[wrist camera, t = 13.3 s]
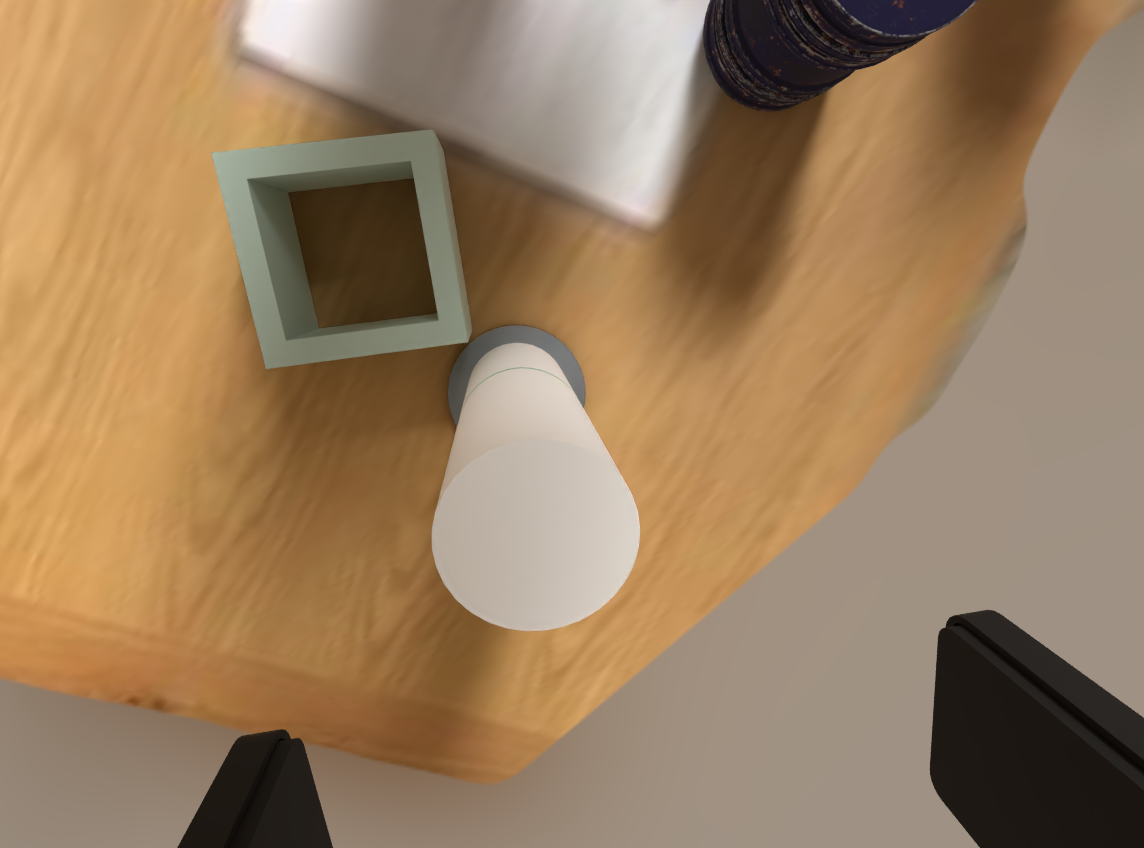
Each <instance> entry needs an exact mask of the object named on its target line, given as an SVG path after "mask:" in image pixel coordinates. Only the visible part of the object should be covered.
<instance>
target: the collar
mask: <svg viewBox="0 0 1144 848" xmlns="http://www.w3.org/2000/svg"><path fill="white" fill-rule="evenodd" d="M212 157H213V161H214V165H215V169H216V173H217V177H218V181H219V185H220V189H221V193H222V197H223V201H224V205H225V209H226V213H227V217H228V221H229V225H230V229H231V233H232V236H233V240H234V244H235V248H236V252H237V256H238V260H239V264H240V268H241V272H242V276H243V280H244V284H245V288H246V292H247V296H248V300H249V304H250V308H251V312H252V315H253V319H254V323H255V327H256V331H257V335H258V339H259V343H260V347H261V351H262V355H263V359H264V363H265V367H266V369H271V368H279V367H286V366H294V365H301V364H308V363H316V362H323V361H331V360H338V359H346V358H353V357H361V356H368V355H376V354H383V353H391V352H398V351H406V350H413V349H421V348H428V347H436V346H443V345H451V344H458V343H465V342H468V341H469V338H470V335H471V333H472V330H473V329H472V323H471V317H470V310H469V304H468V298H467V292H466V286H465V279H464V273H463V267H462V261H461V255H460V249H459V242H458V236H457V230H456V224H455V218H454V211H453V205H452V199H451V193H450V187H449V180H448V174H447V168H446V162H445V156H444V150H443V148H442V146H441V144H440V142H439V140H438V138H437V136H436V134H435V132H434V130H433V129H429V130H420V131H410V132H401V133H392V134H382V135H373V136H364V137H354V138H345V139H336V140H326V141H317V142H308V143H298V144H289V145H280V146H270V147H261V148H252V149H242V150H233V151H224V152H214V153H212ZM412 178H414V182H415V188H416V193H417V199H418V205H419V210H420V216H421V222H422V228H423V233H424V239H425V245H426V250H427V256H428V262H429V268H430V273H431V279H432V285H433V290H434V296H435V302H436V308H437V313H435V314H427V315H419V316H411V317H404V318H396V319H388V320H381V321H373V322H365V323H357V324H350V325H342V326H334V327H327V328H319V327H318V322H317V318H316V313H315V309H314V304H313V300H312V296H311V291H310V287H309V282H308V278H307V274H306V269H305V265H304V260H303V256H302V251H301V247H300V243H299V238H298V234H297V229H296V225H295V221H294V216H293V212H292V207H291V203H290V198H289V194H288V192H297V191H305V190H314V189H323V188H332V187H341V186H350V185H359V184H367V183H376V182H385V181H394V180H403V179H412Z"/></svg>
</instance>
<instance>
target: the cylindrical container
mask: <svg viewBox="0 0 1144 848" xmlns="http://www.w3.org/2000/svg"><path fill="white" fill-rule="evenodd" d="M639 538H640V525H639V516H638V510H637V508H636V505H635V502H634V499H633V496H632V493H631V492H630V490H629V488H628V486H627V484H626V483H625V481H624V479H623V477H622V476H621V474H620V472H619V470H618V469H617V467H616V465H615V463H614V461H613V460H612V458H611V456H610V454H609V453H608V451H607V449H606V447H605V446H604V444H603V442H602V440H601V438H600V437H599V435H598V433H597V431H596V430H595V428H594V426H593V424H592V423H591V421H590V419H589V417H588V415H587V414H586V412H585V410H584V408H583V407H582V405H581V403H580V401H579V400H578V398H577V396H576V394H575V393H574V391H573V389H572V387H571V386H570V384H569V382H568V380H567V379H566V377H565V375H564V373H563V372H562V370H561V368H560V367H559V365H558V363H557V362H556V361H555V360H554V359H553V358H552V357H551V356H550V354H548V353H547V352H545V351H544V350H542V349H541V348H538V347H536V346H534V345H530V344H526V343H509V344H504V345H501V346H499V347H496V348H494V349H492V350H491V351H489V352H488V353H486V354H485V355H484V356H483V357H482V358H481V359H480V360H479V361H478V363H477V364H476V366H475V367H474V369H473V371H472V373H471V376H470V379H469V383H468V387H467V391H466V394H465V398H464V402H463V406H462V410H461V414H460V418H459V422H458V426H457V429H456V433H455V437H454V441H453V445H452V449H451V453H450V457H449V461H448V465H447V469H446V472H445V476H444V480H443V484H442V488H441V492H440V496H439V500H438V504H437V508H436V512H435V516H434V521H433V526H432V551H433V555H434V560H435V565H436V568H437V570H438V572H439V574H440V576H441V579H442V581H443V583H444V585H445V586H446V587H447V589H448V590H449V591H450V593H451V594H452V595H453V596H454V598H455V599H456V600H457V601H458V602H459V603H460V604H461V605H463V606H464V607H465V608H466V609H467V610H469V611H470V612H471V613H472V614H474V615H476V616H478V617H480V618H481V619H483V620H485V621H487V622H489V623H492V624H495V625H498V626H501V627H504V628H507V629H514V630H521V631H544V630H550V629H555V628H560V627H564V626H567V625H569V624H572V623H575V622H577V621H580V620H582V619H584V618H585V617H587V616H589V615H590V614H592V613H594V612H596V611H597V610H599V609H600V608H601V607H602V606H603V605H604V604H606V603H607V602H608V601H609V600H610V599H611V598H612V597H613V596H614V595H615V594H616V593H617V591H618V590H619V589H620V587H621V586H622V585H623V584H624V582H625V581H626V579H627V577H628V575H629V573H630V571H631V569H632V567H633V565H634V562H635V559H636V555H637V552H638V548H639Z"/></svg>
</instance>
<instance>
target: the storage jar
mask: <svg viewBox="0 0 1144 848" xmlns="http://www.w3.org/2000/svg"><path fill="white" fill-rule="evenodd" d="M976 2H977V0H710V3H709V5H708V8H707V12H706V17H705V23H704V48H705V53H706V58H707V61H708V64H709V67H710V70H711V72H712V74H713V76H714V78H715V80H716V81H717V82H718V84H719V85H720V87H721V88H722V89H723V90H724V91H725V92H726V93H727V94H728V95H729V96H730V97H731V98H732V99H734V100H735V101H736V102H738V103H739V104H742V105H744V106H746V107H748V108H751V109H754V110H758V111H779V110H783V109H787V108H790V107H792V106H795V105H797V104H799V103H801V102H803V101H806V100H809V99H811V98H813V97H816V96H818V95H820V94H822V93H824V92H826V91H827V90H829V89H830V88H832V87H833V86H835V85H836V84H837V83H839V82H841V81H842V80H844V79H845V78H847V77H848V76H850V75H851V74H852V73H853V72H854V71H855V70H857V69H863V68H867V67H870V66H874V65H876V64H878V63H880V62H883V61H885V60H887V59H888V58H890V57H891V56H893V55H895V54H898V53H900V52H902V51H904V50H906V49H907V48H909V47H911V46H913V45H914V44H916V43H917V42H919V41H920V40H922V39H923V38H925V37H926V36H927V35H929V34H931V33H933V32H935V31H937V30H939V29H941V28H943V27H945V26H947V25H948V24H950V23H951V22H953V21H954V20H956V19H957V18H959V17H960V16H962V15H963V14H964V13H965V12H966V11H967V10H968V9H970V8H971V7H972V6H973V5H974V4H975V3H976Z"/></svg>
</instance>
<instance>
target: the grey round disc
mask: <svg viewBox="0 0 1144 848" xmlns="http://www.w3.org/2000/svg"><path fill="white" fill-rule="evenodd" d="M509 343H526V344H530V345H534V346H536V347H538V348H541V349H542V350H544V351H545V352H547V353H548V354H550V356H551V357H552V358H553V359H554V360H555V361H556V362H557V363H558V365H559V367H560V368H561V370H562V372H563V373H564V375H565V377H566V379H567V380H568V382H569V384H570V386H571V387H572V389H573V391H574V393H575V394H576V396H577V398H578V400H579V401H580V403H581V405H582V407H583V408H584V404H585V383H584V377H583V374H582V371H581V368H580V366H579V364H578V362H577V360H576V358H575V357H574V355H573V354H572V353H571V351H570V350H569V349H568V348H567V347H566V346H565V345H564V344H563V343H562V342H561V341H560V340H559V339H557V338H556V337H555V336H553V335H552V334H550V333H548V332H546V331H544V330H541V329H538V328H535V327H531V326H526V325H507V326H502V327H498V328H495V329H492V330H489V331H487V332H485V333H483V334H481V335H480V336H478V337H477V338H475V339H474V340H473V341H472V342H471V343H469V344H468V345H467V346H466V348H465V349H464V350H463V351H462V352H461V354H460V355H459V357H458V359H457V360H456V362H455V365H454V367H453V369H452V372H451V375H450V378H449V384H448V402H449V408H450V412H451V415H452V417H453V420H454V422H455V424H456V426H458V422H459V418H460V414H461V410H462V406H463V402H464V398H465V394H466V391H467V387H468V383H469V379H470V376H471V373H472V371H473V369H474V367H475V366H476V364H477V363H478V361H479V360H480V359H481V358H482V357H483V356H484V355H485V354H486V353H488V352H489V351H491V350H492V349H494V348H496V347H499V346H501V345H504V344H509Z"/></svg>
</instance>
